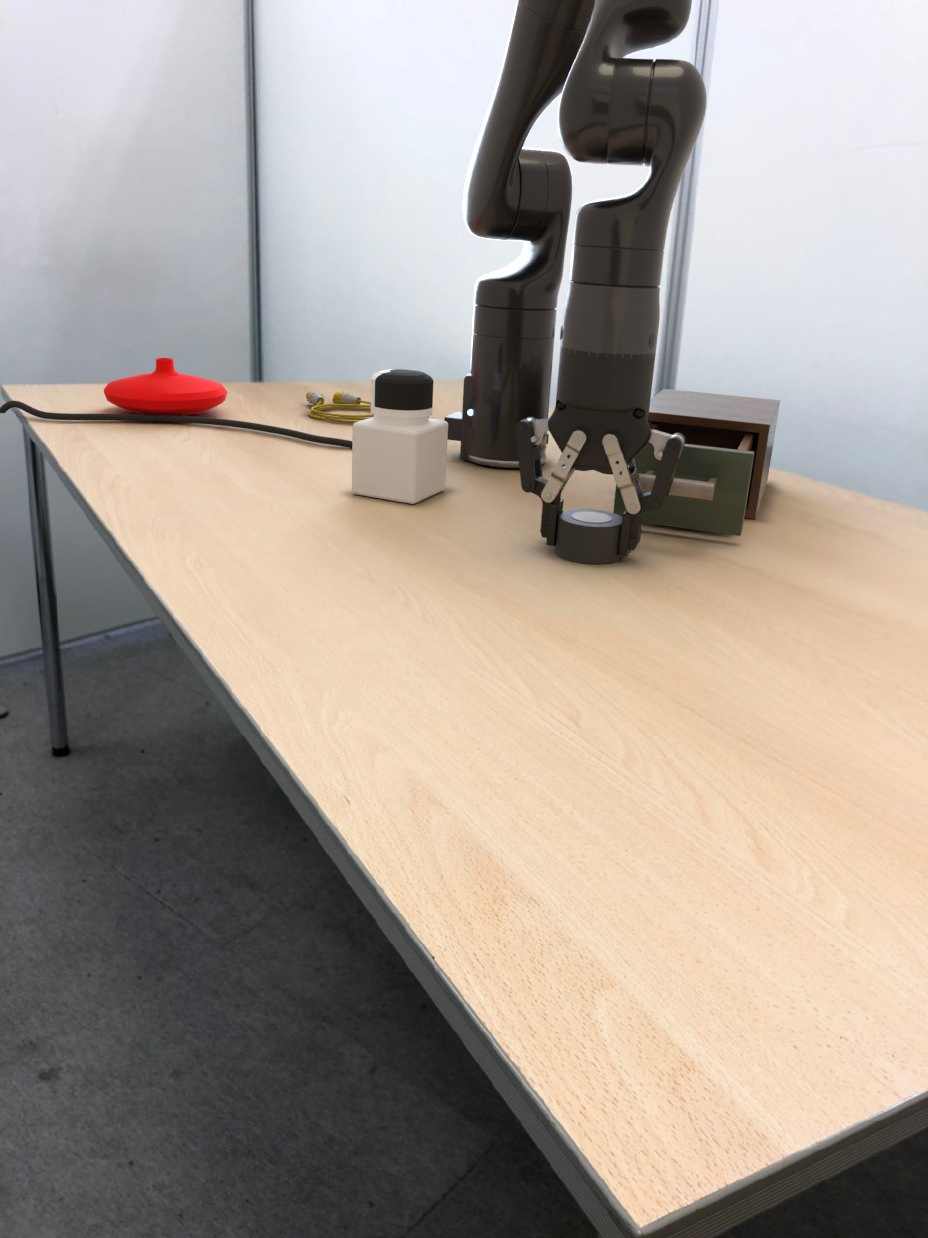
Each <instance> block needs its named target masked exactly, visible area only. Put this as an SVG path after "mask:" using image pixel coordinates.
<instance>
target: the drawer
mask: <svg viewBox="0 0 928 1238" xmlns="http://www.w3.org/2000/svg"><path fill="white" fill-rule="evenodd" d="M651 423H652V426H653V429H654V430H658V431H661V432H664V433H668V434H671V435H673V434H675V433H681V434H683V435H684V437H685V444H684V447H683V451H682V454H681V457H680V460H679V463H678V467H677V470H676V473H675V476H674V479H673V482H672V486H671V489H670V492H669V495H668V498H667V500H666V501H665V503H664V504H663V506H662V507H661V508H660V509H650V510H646V511H644V512H643V520H642V524H649V525H650V524H651V525H658V526H665V527H672V528H679V529H686V530H693V531H700V532H701V531H702V532H708V533H709V532H710V533H715V534H723V535H730V536H739V537H741V536H742V533H743V530H744V522H745V518H744V516H745V510H746V504H747V497H748V491H749V484H750V478H751V471H752V465H753V458H754V446H755V439H756V433H754V432H745V431H736V430H727V429H718V428H708V427H699V426H690V425H681V424H672V423H662V422H653V421H652V422H651ZM634 459H635V463H636V466H637V469H638V472H639V480H640V483H641V486H642V490H643V493H646V492H650V491H652V488H653V484H654V481H655V478H656V475H657V471H658V468H659V465H660V462H661V461H660V460H658V459H656V458H655V456H654V446H653V445H652V444H651V443H650V442H648V443H647V444H646V445H645V446H644V447H643V448H642V450H641V451H640V452H639V453H638V454H637V455H636V456H635V457H634ZM628 466H629V465H628ZM621 473H622V472H621ZM625 511H626V507H625V504H624V501H623V498H622V495H621V492H620V489H619V488H618V487H617V484H616V483H615V491H614V501H613V510H612V513H615V514H617V515H620V516H621V517H623V513H624V512H625Z"/></svg>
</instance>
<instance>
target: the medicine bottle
mask: <svg viewBox="0 0 928 1238" xmlns="http://www.w3.org/2000/svg"><path fill="white" fill-rule="evenodd" d="M370 402H371V411H370V413H371V414H374V417H368V418H369V419H366V420H358V421H359V422H355V423H352V439H351V441H352V448H351V450H352V451H351V492H352V493H353V495H357V496H364V497H369V498H374V499H375V498H376V499H382V500H388V501H392V502H397V503H405V504H409V505H410V504H411V505H415V504H417V503H419V502H422V501H424V500H426V499H428V498H430V497H432V496H435V495H437V494H438V493H441V492H444V491H445V489H446V481H447V463H448V462H447V461H448V458H447V457H448V441H449V440H448V423H447V421H444V420H443V419H437V418H430V417H431V416H433V407H434V406H433V404H434V403H433V402H434V379H433V378H432V376H431V375H429V374H428V373H425V372H424V371H420V370H416V369H415V370H414V369H404V368H402V369H401V368H392V369H391V368H390V369H382V370H380V371H377V372H375V373H374V374H372V376H371V378H370Z"/></svg>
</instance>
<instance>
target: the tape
mask: <svg viewBox="0 0 928 1238" xmlns="http://www.w3.org/2000/svg"><path fill="white" fill-rule="evenodd" d="M621 527H622V517H621V516H620V515H617V514H615V513H613V512H612V511H608V510H607V511H606V510H602V509H592V508H573V509H567V510H563V512H561V513H560V514H559V515H558V524H557V536H556V546H554V547H555V548H554V549H555V550H554V552H555V554H556V555H557V556H558V557H559V558H562V559H563V560H567V561H569V562H573V563H578V564H588V565H606V564H611V563H615V562H618V561H619V560H620V559H621V558H622V556H620V555H619V545H620V536H621Z"/></svg>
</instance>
